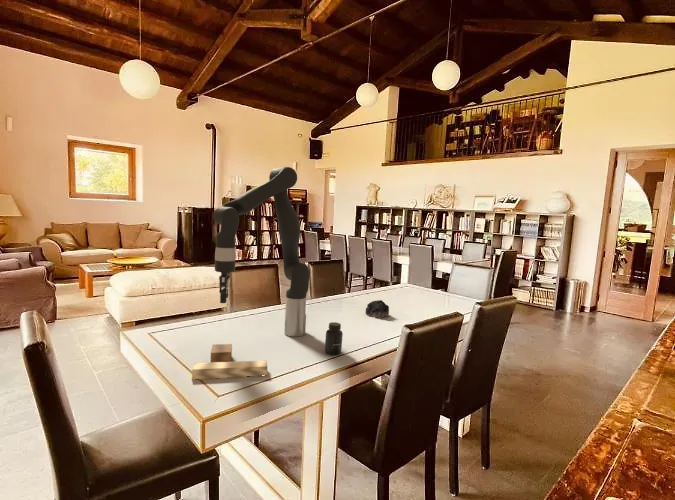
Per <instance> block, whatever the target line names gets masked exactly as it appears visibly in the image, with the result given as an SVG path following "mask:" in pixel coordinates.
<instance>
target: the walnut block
mask: <svg viewBox="0 0 675 500" xmlns="http://www.w3.org/2000/svg"><path fill="white" fill-rule="evenodd" d="M232 350H233V344H232V343H223V344H221V343H219V344H212V345H211V350H210V363H211V362H232V356H233V354H232V352H233V351H232Z"/></svg>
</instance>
